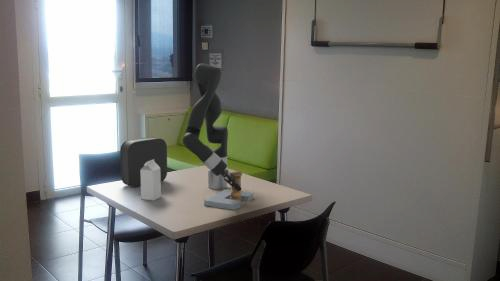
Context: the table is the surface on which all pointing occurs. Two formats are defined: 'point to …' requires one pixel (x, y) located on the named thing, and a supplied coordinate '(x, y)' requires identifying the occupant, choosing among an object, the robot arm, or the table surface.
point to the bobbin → (237, 178)
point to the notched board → (227, 200)
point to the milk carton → (150, 181)
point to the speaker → (142, 158)
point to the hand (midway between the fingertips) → (239, 188)
